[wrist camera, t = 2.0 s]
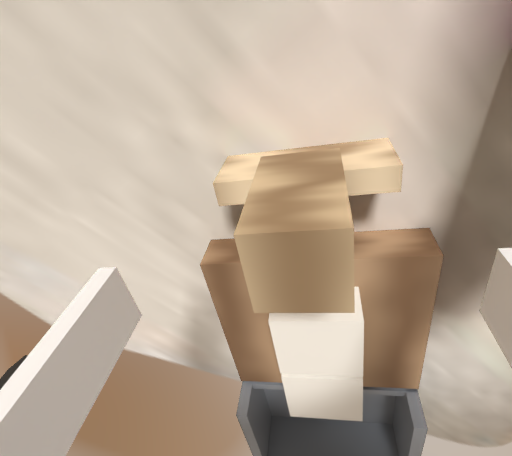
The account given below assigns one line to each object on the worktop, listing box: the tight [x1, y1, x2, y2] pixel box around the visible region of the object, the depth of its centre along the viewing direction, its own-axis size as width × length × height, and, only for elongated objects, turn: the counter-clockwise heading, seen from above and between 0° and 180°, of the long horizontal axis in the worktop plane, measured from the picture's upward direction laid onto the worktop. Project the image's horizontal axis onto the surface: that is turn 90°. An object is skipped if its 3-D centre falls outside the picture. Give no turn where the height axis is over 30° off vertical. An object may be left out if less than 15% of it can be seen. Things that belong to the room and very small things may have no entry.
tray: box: [236, 381, 428, 456], centre depth 33 cm, size 16×12×6 cm
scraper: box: [213, 138, 403, 313], centre depth 16 cm, size 10×4×11 cm, turn 99°
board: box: [200, 228, 443, 389], centre depth 27 cm, size 16×15×3 cm
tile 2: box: [268, 287, 364, 377], centre depth 23 cm, size 6×6×3 cm
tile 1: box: [281, 374, 363, 421], centre depth 27 cm, size 6×6×3 cm
